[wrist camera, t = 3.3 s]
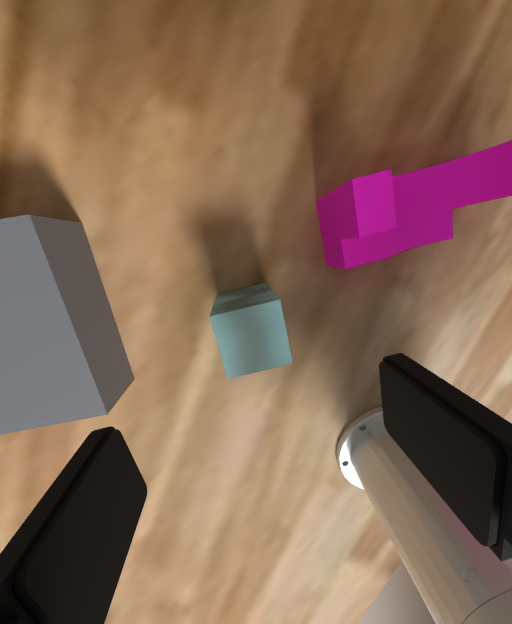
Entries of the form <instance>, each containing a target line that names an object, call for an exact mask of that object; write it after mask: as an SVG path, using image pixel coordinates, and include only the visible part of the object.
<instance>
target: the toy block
mask: <svg viewBox="0 0 512 624" xmlns="http://www.w3.org/2000/svg"><path fill="white" fill-rule="evenodd" d="M507 196H512V140H511V141H508V142H505V143H503V144H500V145H497V146H494V147H491V148H488V149H485V150H482V151H479V152H476V153H473V154H470V155H467V156H464V157H461V158H458V159H455V160H452V161H448V162H445V163H442V164H438V165H435V166H432V167H428V168H425V169H421V170H417V171H414V172H410V173H406V174H401V175H396V176H392V169H389V170H385V171H382V172H378V173H374V174H370V175H366V176H363V177H359V178H355V179H352V180H350V181H348V182H347V183H345V184H343V185H342V186H340V187H338V188H336V189H335V190H333V191H331V192H330V193H328V194H326V195H325V196H323V197H321V198H320V199H318V200H316V205H317V211H318V217H319V223H320V229H321V234H322V240H323V246H324V252H325V258H326V264H327V266H330V267H336V268H341V269H349V268H353V267H357V266H360V265H364V264H368V263H371V262H375V261H379V260H383V259H386V258H390V257H393V256H394V255H396V254H398V253H400V252H402V251H405V250H408V249H411V248H414V247H418V246H421V245H425V244H429V243H433V242H438V241H443V240H447V239H452V238H453V225H452V209H454V208H458V207H462V206H466V205H471V204H475V203H480V202H484V201H489V200H493V199H498V198H502V197H507Z"/></svg>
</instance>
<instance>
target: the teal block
mask: <svg viewBox="0 0 512 624" xmlns="http://www.w3.org/2000/svg"><path fill="white" fill-rule="evenodd" d="M209 317H210V320H211V323H212V327H213V330H214V334H215V337H216V341H217V344H218V348H219V351H220V354H221V358H222V361H223V365H224V368H225V372H226V375H227V379H230V378H234V377H238V376H243V375H247V374H251V373H255V372H259V371H263V370H267V369H271V368H275V367H279V366H283V365H288V364H292V363H293V361H292V356H291V351H290V346H289V341H288V336H287V331H286V326H285V321H284V316H283V311H282V306H281V301H280V299H279V298H278V297H277V295H276V294H275V293H274V292H273V291H272V290H271V288H270V287H269V286H268V285H267V284H266V283H264V284H259V285H255V286H251V287H247V288H242V289H238V290H234V291H230V292H225V293H221V294H218V295H217V298H216V300H215V303H214V306H213V308H212V311H211V314H210V316H209Z"/></svg>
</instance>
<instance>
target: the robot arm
mask: <svg viewBox="0 0 512 624" xmlns="http://www.w3.org/2000/svg"><path fill="white" fill-rule="evenodd" d="M379 370H380V383H381V396H382V407H378V408H374V409H372V410H370V411H367V412H365V413H364V414H362V415H360V416H359V417H357V418H356V419H355V420H354V421H352V422H351V423H350V424H349V425H348V427H347V428H346V429H345V430H344V432H343V433H342V435H341V437H340V439H339V442H338V445H337V450H336V458H337V463H338V465H339V468H340V470H341V472H342V474H343V476H344V477H345V478H346V479H347V480H348V481H349V482H350V483H352V484H353V485H354V486H357V487H359V488H361V489H364V490H365V492H366V493H367V495H368V497H369V499H370V501H371V503H372V505H373V507H374V508H375V510H376V512H377V514H378V516H379V518H380V520H381V522H382V523H383V525H384V527H385V529H386V531H387V533H388V535H389V537H390V538H391V540H392V542H393V544H394V546H395V548H396V550H397V552H398V553H399V555H400V557H401V559H402V561H403V563H404V564H405V566H406V568H407V570H408V572H409V574H410V576H411V578H412V580H413V582H414V583H415V585H416V587H417V589H418V591H419V593H420V595H421V596H422V598H423V600H424V602H425V604H426V606H427V608H428V610H429V612H430V613H431V615H432V617H433V619H434V621H435V623H436V624H512V424H511V423H510V422H508V421H507V420H505V419H504V418H502V417H500V416H499V415H497V414H496V413H494V412H493V411H491V410H490V409H488V408H486V407H485V406H483V405H482V404H480V403H479V402H477V401H476V400H474V399H472V398H471V397H469V396H468V395H466V394H465V393H463V392H462V391H460V390H459V389H457V388H455V387H454V386H452V385H451V384H449V383H448V382H446V381H445V380H443V379H441V378H440V377H438V376H437V375H435V374H434V373H432V372H431V371H429V370H427V369H426V368H424V367H423V366H421V365H420V364H418V363H417V362H415V361H413V360H412V359H410V358H409V357H407V356H406V355H404V354H402V353H398V354H394V355H390V356H386V357H384V358H383V362H381V363H380V364H379ZM146 497H147V486H146V483H145V481H144V479H143V477H142V475H141V473H140V471H139V469H138V467H137V465H136V463H135V461H134V459H133V457H132V455H131V452H130V450H129V448H128V446H127V444H126V442H125V440H124V438H123V436H122V434H121V432H120V431H119V430H117V429H116V430H115V428H114V427H106V428H102V429H98V430H94V431H92V432H91V433H90V434H89V435H88V437H87V438H86V439H85V441H84V442H83V443H82V445H81V446H80V447H79V449H78V450H77V452H76V453H75V454H74V456H73V457H72V458H71V460H70V461H69V462H68V464H67V465H66V466H65V468H64V469H63V470H62V472H61V473H60V474H59V476H58V477H57V478H56V480H55V481H54V482H53V484H52V485H51V486H50V488H49V489H48V490H47V492H46V493H45V494H44V496H43V497H42V499H41V500H40V501H39V503H38V504H37V505H36V507H35V508H34V509H33V511H32V512H31V513H30V515H29V516H28V517H27V519H26V520H25V521H24V523H23V524H22V525H21V527H20V528H19V529H18V531H17V532H16V533H15V535H14V536H13V537H12V539H11V540H10V542H9V543H8V544H7V546H6V547H5V548H4V550H3V551H2V552H1V554H0V624H104V622H105V619H106V616H107V613H108V611H109V608H110V605H111V602H112V599H113V596H114V593H115V590H116V587H117V584H118V581H119V578H120V575H121V572H122V569H123V566H124V563H125V560H126V557H127V554H128V551H129V548H130V545H131V542H132V539H133V536H134V533H135V530H136V527H137V524H138V521H139V518H140V515H141V512H142V509H143V506H144V503H145V500H146Z"/></svg>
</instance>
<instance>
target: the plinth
mask: <svg viewBox="0 0 512 624" xmlns="http://www.w3.org/2000/svg"><path fill="white" fill-rule="evenodd" d="M133 380H134V376H133V373H132V370H131V367H130V364H129V361H128V358H127V355H126V352H125V349H124V346H123V343H122V340H121V337H120V334H119V331H118V328H117V325H116V322H115V319H114V316H113V313H112V310H111V307H110V304H109V301H108V298H107V296H106V293H105V290H104V287H103V284H102V281H101V278H100V275H99V272H98V269H97V266H96V263H95V260H94V257H93V254H92V251H91V248H90V245H89V242H88V239H87V236H86V233H85V230H84V227H83V224H82V223H80V222H73V221H67V220H61V219H55V218H49V217H42V216H36V215H30V214H29V215H22V216H16V217H9V218H3V219H0V435H1V434H6V433H11V432H17V431H22V430H27V429H33V428H38V427H43V426H49V425H54V424H59V423H65V422H70V421H75V420H81V419H86V418H91V417H96V416H102V415H107V414H108V413H109V412H110V410H111V409H112V408H113V406H114V405H115V404H116V403H117V401H118V400H119V399H120V397H121V396H122V395H123V393H124V392H125V391H126V389H127V388H128V387H129V386H130V384H131V383H132V382H133Z"/></svg>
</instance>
